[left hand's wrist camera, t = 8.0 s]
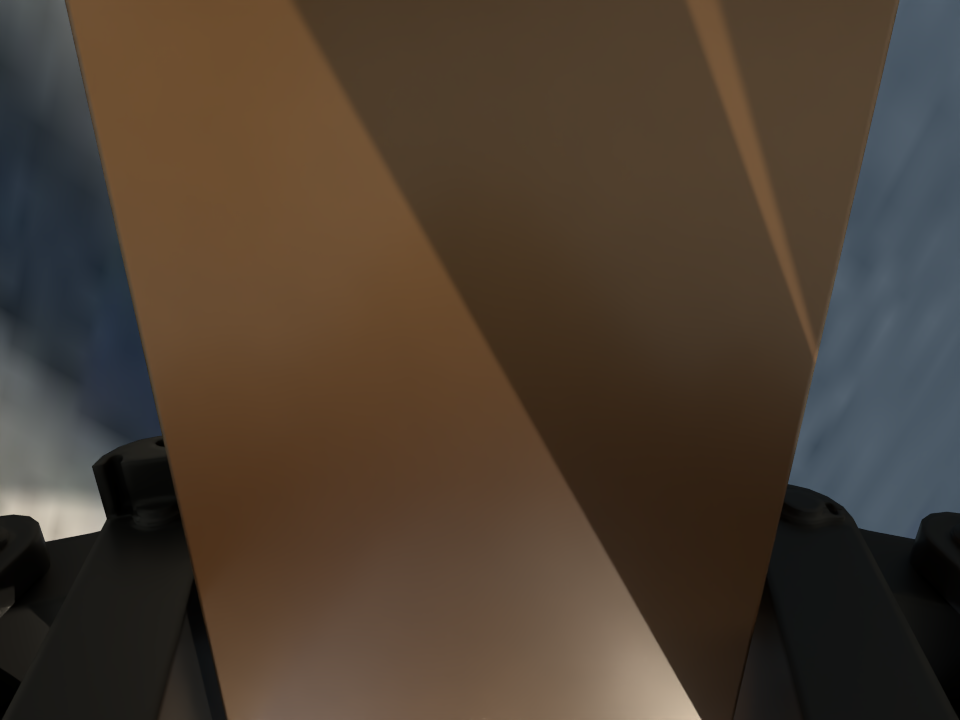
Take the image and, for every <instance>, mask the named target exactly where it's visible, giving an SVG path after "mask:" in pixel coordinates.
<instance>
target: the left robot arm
mask: <svg viewBox="0 0 960 720" xmlns="http://www.w3.org/2000/svg"><path fill="white" fill-rule="evenodd" d="M92 468H93V472H94V475H95V479H96V482H97V486H98V489H99V493H100V496H101V500H102V503H103V507H104V510H105V514H106V517H107V520H106V522H105V524H104V526H103V528H102V530H101V531H98V532H94V533H90V534H85V535H79V536H74V537H69V538H64V539H58V540H53V541H48V542H45V540H44V537H43V534H42V531H41V528H40V525H39V523H38V522H37V521H36V520H34V519H33V518H31V517H30V516H21V515H6V516H0V720H226V718H225V713H224V709H223V704H222V700H221V696H220V691H219V687H218V682H217V678H216V673H215V669H214V664H213V660H212V655H211V651H210V646H209V642H208V637H207V633H206V629H205V624H204V620H203V615H202V611H201V606H200V602H199V597H198V593H197V588H196V584H195V579H194V575H193V570H192V566H191V562H190V557H189V553H188V548H187V544H186V539H185V535H184V530H183V526H182V521H181V517H180V512H179V508H178V503H177V499H176V494H175V490H174V486H173V481H172V477H171V472H170V468H169V463H168V459H167V454H166V450H165V445H164V441H163V436H157V437H152V438H147V439H142V440H138V441H135V442H132V443H129V444H126V445H123V446H121V447H118V448H116V449H115V450H113V451H111V452H109V453H107V454H106V455H104V456H102V457H101V458H100V459H99V460H98V461H97V462H96V463H95V464H94V465H93V466H92ZM733 720H960V513H952V512H941V513H932V514H929V515H928V516H927V517H925V518H924V519H922V521H921V524H920V527H919V530H918V533H917V536H916V538H915V539H910V538H905V537H900V536H894V535H889V534H884V533H879V532H873V531H868V530H864V529H860V528H858V527H857V525H856V523H855V521H854V519H853V518H852V516H851V515H850V514H849V513H848V512H847V511H846V509H845V508H844V507H843V506H841V505H840V504H838V503H837V502H835V501H834V500H832V499H830V498H829V497H827V496H825V495H822V494H820V493H818V492H815V491H813V490H810V489H807V488H803V487H798V486H794V485H790V484H788V485H787V489H786V493H785V498H784V502H783V506H782V511H781V515H780V519H779V524H778V528H777V532H776V537H775V541H774V545H773V550H772V554H771V558H770V563H769V567H768V571H767V576H766V580H765V584H764V589H763V593H762V597H761V602H760V606H759V610H758V615H757V619H756V623H755V628H754V632H753V636H752V641H751V645H750V649H749V654H748V658H747V662H746V667H745V671H744V675H743V680H742V684H741V688H740V693H739V697H738V701H737V706H736V710H735V714H734V718H733Z"/></svg>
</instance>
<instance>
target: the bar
mask: <svg viewBox="0 0 960 720" xmlns="http://www.w3.org/2000/svg"><path fill="white" fill-rule="evenodd" d="M65 3H66V8H67V12H68V17H69V21H70V25H71V30H72V34H73V39H74V43H75V48H76V52H77V57H78V61H79V66H80V70H81V75H82V79H83V84H84V88H85V92H86V97H87V101H88V106H89V110H90V115H91V119H92V124H93V128H94V133H95V137H96V142H97V146H98V151H99V155H100V159H101V164H102V168H103V173H104V177H105V182H106V186H107V191H108V195H109V200H110V204H111V209H112V213H113V218H114V222H115V226H116V231H117V235H118V240H119V244H120V249H121V253H122V258H123V262H124V267H125V271H126V276H127V280H128V285H129V289H130V293H131V298H132V302H133V307H134V311H135V316H136V320H137V325H138V329H139V334H140V338H141V343H142V347H143V352H144V356H145V360H146V365H147V369H148V374H149V378H150V383H151V387H152V392H153V396H154V401H155V405H156V410H157V414H158V419H159V423H160V427H161V432H162V436H163V441H164V445H165V450H166V454H167V459H168V463H169V468H170V472H171V477H172V481H173V486H174V490H175V494H176V499H177V503H178V508H179V512H180V517H181V521H182V526H183V530H184V535H185V539H186V544H187V548H188V553H189V557H190V562H191V566H192V570H193V575H194V579H195V584H196V588H197V593H198V597H199V602H200V606H201V611H202V615H203V620H204V624H205V629H206V633H207V637H208V642H209V646H210V651H211V655H212V660H213V664H214V669H215V673H216V678H217V682H218V687H219V691H220V696H221V700H222V704H223V709H224V713H225V718H226V720H733V718H734V714H735V710H736V706H737V701H738V697H739V693H740V688H741V684H742V680H743V675H744V671H745V667H746V662H747V658H748V654H749V649H750V645H751V641H752V636H753V632H754V628H755V623H756V619H757V615H758V610H759V606H760V602H761V597H762V593H763V589H764V584H765V580H766V576H767V571H768V567H769V563H770V558H771V554H772V550H773V545H774V541H775V537H776V532H777V528H778V524H779V519H780V515H781V511H782V506H783V502H784V498H785V493H786V489H787V485H788V480H789V476H790V472H791V467H792V463H793V459H794V454H795V450H796V446H797V441H798V437H799V433H800V428H801V424H802V420H803V415H804V411H805V407H806V402H807V398H808V394H809V389H810V385H811V381H812V377H813V372H814V368H815V364H816V359H817V355H818V351H819V346H820V342H821V338H822V333H823V329H824V325H825V320H826V316H827V312H828V307H829V303H830V299H831V294H832V290H833V286H834V281H835V277H836V273H837V268H838V264H839V260H840V255H841V251H842V247H843V242H844V238H845V234H846V229H847V225H848V221H849V216H850V212H851V208H852V203H853V199H854V195H855V190H856V186H857V182H858V177H859V173H860V169H861V164H862V160H863V156H864V151H865V147H866V143H867V138H868V134H869V130H870V125H871V121H872V117H873V112H874V108H875V104H876V99H877V95H878V91H879V86H880V82H881V78H882V73H883V69H884V65H885V61H886V56H887V52H888V48H889V43H890V39H891V35H892V30H893V26H894V22H895V17H896V13H897V9H898V4H899V0H65Z"/></svg>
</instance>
